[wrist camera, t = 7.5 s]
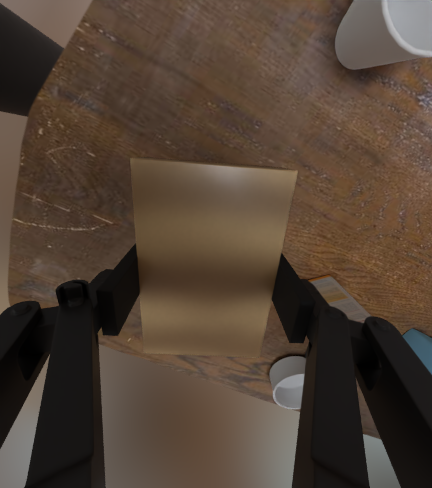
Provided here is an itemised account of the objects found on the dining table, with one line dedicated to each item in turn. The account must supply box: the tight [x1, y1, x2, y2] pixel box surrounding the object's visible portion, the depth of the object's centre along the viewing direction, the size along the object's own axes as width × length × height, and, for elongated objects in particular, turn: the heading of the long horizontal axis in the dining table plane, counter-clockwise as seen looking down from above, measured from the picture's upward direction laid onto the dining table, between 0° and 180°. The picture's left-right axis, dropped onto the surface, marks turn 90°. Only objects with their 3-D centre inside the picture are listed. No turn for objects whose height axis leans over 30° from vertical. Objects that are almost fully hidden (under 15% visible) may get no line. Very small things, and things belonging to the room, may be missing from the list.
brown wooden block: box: [130, 157, 298, 358], centre depth 16 cm, size 14×9×3 cm, turn 176°
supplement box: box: [308, 275, 371, 323], centre depth 38 cm, size 8×5×13 cm, turn 107°
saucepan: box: [269, 356, 306, 409], centre depth 49 cm, size 12×20×6 cm, turn 150°
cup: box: [335, 0, 432, 70], centre depth 23 cm, size 12×12×12 cm
